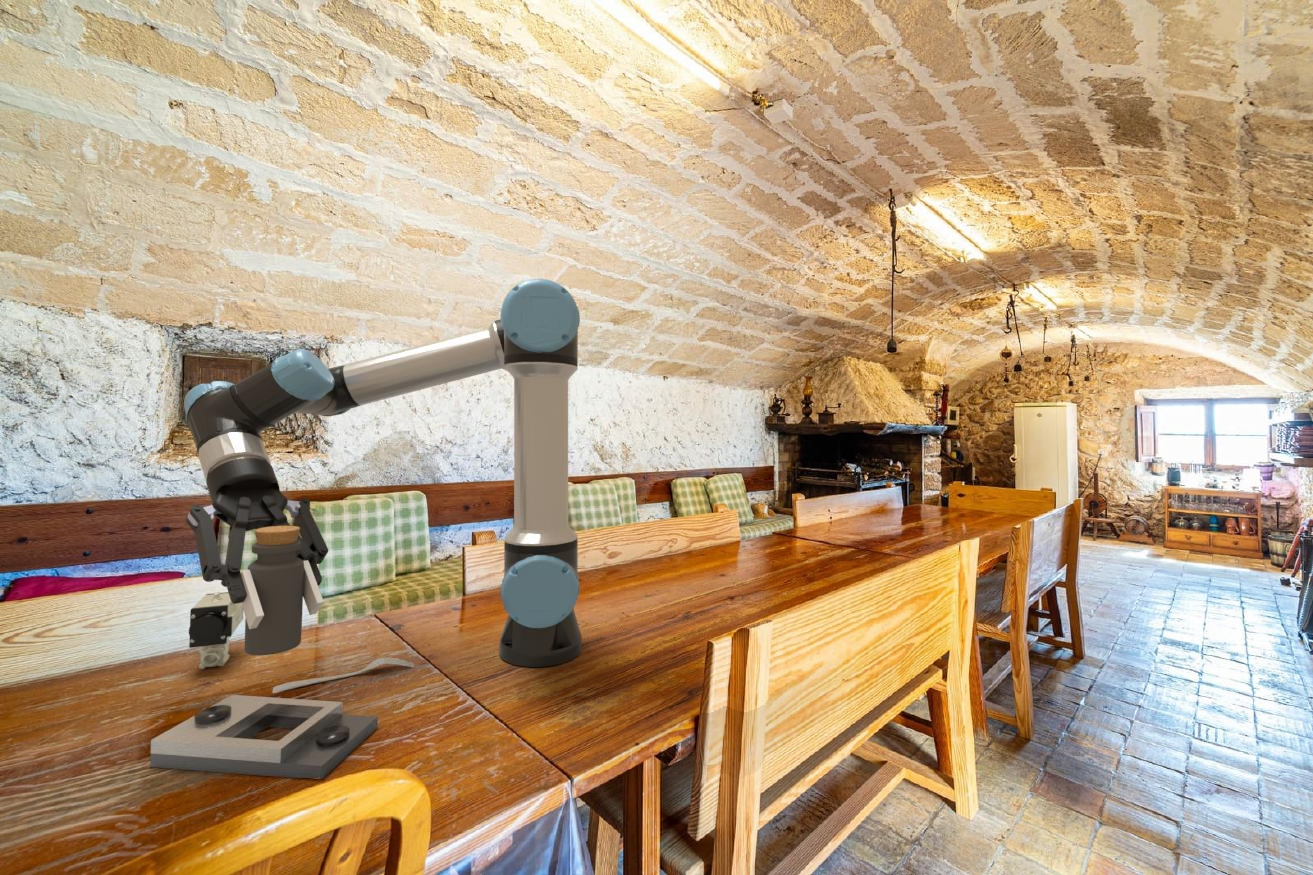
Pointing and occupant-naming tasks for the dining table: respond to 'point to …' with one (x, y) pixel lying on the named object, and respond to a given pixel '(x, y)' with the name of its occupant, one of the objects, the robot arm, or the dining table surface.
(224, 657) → the pneumatic valve
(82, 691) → the dining table surface
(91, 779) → the dining table surface
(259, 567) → the bottle
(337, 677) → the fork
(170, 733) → the grey slotted fixture base
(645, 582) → the dining table surface
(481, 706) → the dining table surface
